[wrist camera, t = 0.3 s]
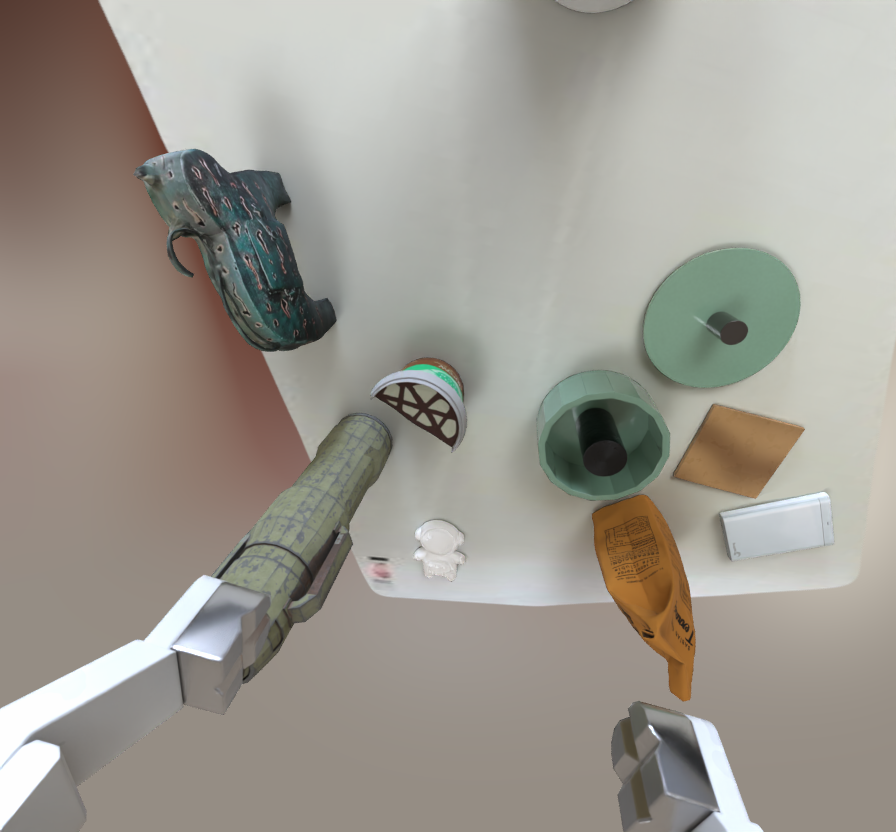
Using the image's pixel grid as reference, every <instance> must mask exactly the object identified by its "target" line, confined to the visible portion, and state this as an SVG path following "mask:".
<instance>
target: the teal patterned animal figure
mask: <svg viewBox="0 0 896 832" xmlns="http://www.w3.org/2000/svg"><path fill="white" fill-rule="evenodd" d="M134 175H135V176H136V177H137V178H138V179H140V180H142V181H144V184H145V186H146V189H147V192H148V194H149V196H150V198H151V200H152V202H153V204H154V206H155V207H156V209H157V211H158V212H159V214H160V216H161V217H162V218H163V220H164V221H165V222H166V224H167V225H168V226H169V227H170V228H169V232H168V237H167V252H168V257H169V259H170V261H171V263H172V264H173V265H174V267H175V268H176V269H177V271H179V272H180V273H182V274H184V275H186V276H188V277H193V275H194V274H193V273H191V272H190V271H188V270H187V269H186V268H185V267H184V266H182V264H181V263H180V262H179V261H178V259H177V257H176V255H175V252H174V250H173V245H172V241H173V240H175V239H177V238H179V237H180V236H182V237H191V238H193V239H195V240H196V242H197V244H198V246H199V249H200V251H201V254H202V256H203V259H204V264H205V267H206V270H207V272H208V275H209V278H210V279H211V281H212V283H213V285H214V287H215V289H216V291H217V292H218V294H219V295H220V297H221V298H222V302H223V305H224V308H225V310H226V312H227V313H228V315H229V317H230V319H231V321H232V323H233V324H234V326H235V327H236V329H237V330H238V332H239V333H240V334H241V336H242V337H243V338H244V339H245V341H246V342H247V343H248V344H249V345H251V346H253V347H254V348H256V349H259V350H261V351H267V352H274V351H277V350H279V351H289V350H294V349H297V348H299V347H300V346H302V345H306V344H308V343H311V342H314V341H317V340H319V339H320V338H322V337H323V336H324V334H325V333H326V332H327V331H328V330H329V329H330V328H331V327H332V326H333V325H334V324H335V322H336V317H335V313H334V309H333V307H332V305H331V303H330V302H329V300H328V298H325V299H323V300H319V301H316V302H315V301H313V300H312V299H311V298H310V297H309V296H308V295H307V294H306V292H305V291H304V287H303V281H302V278H301V276H300V274H299V271H298V268H297V263H296V260H295V257H294V253H293V250H292V247H291V244H290V241H289V238H288V235H287V232H286V229H285V227H284V225H283V224H282V223H280V222H279V221H277V219H276V218H275V212H276V209H277V208H278V207H280V206H282V205H284V204H287V203H291V200H290V198H289V196H288V194H287V192H286V191H285V188H284V186H283V183H282V179H281V177H280V174H279V173H275V172H269V171H254V170H244V171H239V172H233V173H229V172H227V171H226V170H225V169H224V168H222V167H221V166H220V165H219V164H218V163H217V161H216V160H215V159H214V158H213V157H212V156H210V155H209V154H207V153H205V152H203V151H201V150H198V149H189V150H181V151H176V152H171V153H167V154H164V155H160V156H156V157H154V158H152V159H150V160H148V161H146V162H145V163H144V165H142V166H140V167H137V168H136V170H135V173H134ZM247 335H248V336H249V337H250V338H251V339H252V340H253V341H252V340H251V339H250V338H249V337H248V336H247ZM264 347H265V348H264Z"/></svg>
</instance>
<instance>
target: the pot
mask: <svg viewBox="0 0 896 832" xmlns="http://www.w3.org/2000/svg"><path fill="white" fill-rule="evenodd" d="M591 408H601V409H604V410H606V411H608V412H609V413H610V414H611V415H612V417H613V419H614V421H615V424H616V426H617V429H618V432H619V434H620V437H621V439H622V442H623V444H624V447H625V450H626V452H627V463H626V465H625V467H624V468H623V469H622V470H621V471H620V472H618V473H617V474H614V475H612V476H606V477H602V476H597V475H594V474H592V473H590V472H589V471H588V470H587V469H586V468H585V466H584V463H583V459H582V454H581V450H580V445H579V440H578V436H577V431H576V420H577V418H578V417H579V415H580V414H581V413H582V412H584V411H585V410H588V409H591ZM537 437H538V450H539V460H540V465H541V467H542V468H543V470H544V472H545V473H546V475H547V476H548V478H549V480H550V481H551V482H552V483H553V484H555V485H556V486H558V487H559V488H560V489H562V490H563V491H565V492H566V493H568V494H569V495H573V496H576V497H580V498H584V499H587V500H591V501H595V500H616V499H619V498H622V497H625V496H627V495H630V494H633V493H636V492H638V491H640V490H642V489H643V488H644V487H645V486H647V485H648V484H649V483H650V482H652V481H653V480H654V479H655V478H657V477H658V475H659V474H660V472H661V470H662V468H663V466H664V464H665V463H666V461H667V459H668V457H669V451H670V432H669V430H668V428H667V426H666V424H665V422H664V420H663V418H662V416H661V414H660V412H659V411H658V409H657V408H656V406H655V404H654V403H653V401H652V399H651V398H650V396H649V394H648V393H647V391H646V390H645V389H644V388H642V387H641V386H640V385H639V384H638V383H637V382H635V381H634V380H632V379H631V378H629V377H627V376H625V375H623V374H619V373H616V372H612V371H603V370H596V371H587V372H582V373H579V374H576V375H573V376H571V377H569V378H567V379H565V380H563V381H562V382H560V383H559V384H558V385H556V386H555V387H554V388H553V389H552V390H551V391H550V392H549V394H548V395H547V396H546V398H545V399H544V401H543V402H542V405H541V407H540V410H539V414H538V417H537Z"/></svg>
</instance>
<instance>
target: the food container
mask: <svg viewBox="0 0 896 832" xmlns="http://www.w3.org/2000/svg"><path fill="white" fill-rule="evenodd" d="M370 396H372V398H374V397H375V396H376V397H377V398H378V399H380V400H381V401H383V402H385V403H386V404H388V405H389V406H391V407H392V408H394V409H395V410H397V411H398V412H399V413H401V414H402V415H403V416H404V417H406V418H407V419H408V420H410V421H411V422H412V423H414V424H415V425H417V426H419V427H420V428H422V429H424V430H426V431H428V432H429V433H431V434H433V435H434V436H436V437H437V438H439V439H440V440H442V441H443V442H445V443H446V444H448V445H449V446H451V447H452V451H451V453H452V452H453V451H454V452H455V450H456V449H457V448H458V446H459V445H460V443H461V442H462V440H463V438H464V435H465V432H466V428H467V416H466V411H465V407H464V405H463V399H464V389H463V383H462V381H461V378H460V376H459V374H458V373H457V372H456V370H455V369H454V368H453V367H452V366H451V365H449V364H448V363H446V362H444V361H442V360H439V359H435V358H420V359H417V360H414V361H412V362H410V363H409V364H407V365H406V366H405V367H404V368H403V369H402V370H400V371H399V372H395V373H393V374H390V375H388V376H386V377H385V378H383V379H382V380H380V381H379V382H378V383H377V384H376V385H375V386H374V388H373V389H372V392H371V395H370ZM372 398H371V399H372Z"/></svg>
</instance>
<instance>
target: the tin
mask: <svg viewBox="0 0 896 832" xmlns="http://www.w3.org/2000/svg"><path fill="white" fill-rule="evenodd" d="M576 431H577V436H578V440H579V445H580V450H581V454H582V459H583V463H584V466H585V468H586V469H587V470H588V471H589V472H590V473H592V474H594V475H597V476H602V477H606V476H612V475H614V474H617V473H618V472H620V471H621V470H622V469H623V468H624V467H625V465H626V463H627V452H626V450H625V447H624V444H623V442H622V439H621V437H620V434H619V432H618V429H617V426H616V424H615V421H614V419H613V417H612V415H611V414H610V413H609V412H608V411H606V410H604V409H601V408H591V409H588V410H585V411H584V412H582V413H581V414H580V415H579V417H578V418H577V420H576Z"/></svg>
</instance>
